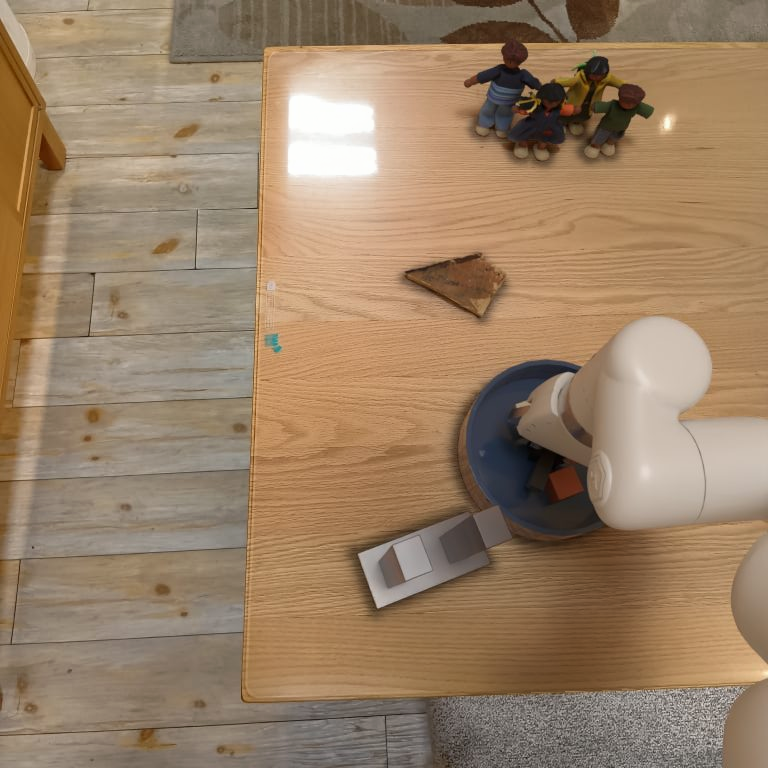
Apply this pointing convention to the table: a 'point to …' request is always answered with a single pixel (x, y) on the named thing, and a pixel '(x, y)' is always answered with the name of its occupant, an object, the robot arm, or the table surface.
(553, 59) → the table surface
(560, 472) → the terracotta block
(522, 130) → the doll family
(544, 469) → the stirring stick
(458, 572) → the stick stand
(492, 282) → the shard
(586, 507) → the bowl
